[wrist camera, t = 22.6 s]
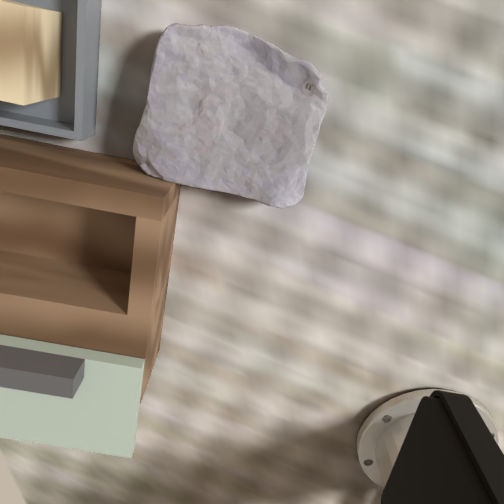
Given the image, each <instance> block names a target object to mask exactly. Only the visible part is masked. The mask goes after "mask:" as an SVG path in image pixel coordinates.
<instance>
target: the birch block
mask: <svg viewBox="0 0 504 504" xmlns="http://www.w3.org/2000/svg"><path fill="white" fill-rule="evenodd" d="M62 32H63V13H62V12H58V11H54V10H49V9H45V8H41V7H36V6H32V5H28V4H23V3H19V2H15V1H11V0H0V101H5V102H10V103H14V104H19V105H23V106H24V105H28V104H32V103H36V102H40V101H44V100H48V99H52V98H57V97H60V96H61V64H62Z"/></svg>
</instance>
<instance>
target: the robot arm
mask: <svg viewBox="0 0 504 504" xmlns="http://www.w3.org/2000/svg"><path fill="white" fill-rule="evenodd" d="M498 442H499V438H498V430H497V428H496V425H495V422H494V421H493V419H492V417H491V416H490V414H489V413H488V411H487V410H486V409H485V408H484V407H483V406H482V405H481V404H480V403H479V402H477V401H476V400H474V399H473V398H471V397H469V396H467V395H464V394H462V393H459V392H455V391H450V390H444V389H426V390H417V391H413V392H409V393H405V394H402V395H400V396H397V397H395V398H392V399H390V400H389V401H387V402H385V403H384V404H382V405H380V406H379V407H378V408H377V409H375V410H374V411H373V412H372V413H371V414H370V415H369V416H368V418H367V419H366V420H365V421H364V423H363V425H362V426H361V428H360V430H359V433H358V437H357V454H358V459H359V462H360V465H361V467H362V470H363V471H364V472H365V474H366V475H367V476H368V478H370V479H371V480H372V481H373V482H374V483H376V484H377V485H379V486H381V487H382V488H384V490H383V493H382V498H381V504H504V455H503V453H502V451H501V449H500V448H499V446H498Z"/></svg>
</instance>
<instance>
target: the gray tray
mask: <svg viewBox="0 0 504 504" xmlns="http://www.w3.org/2000/svg"><path fill="white" fill-rule="evenodd" d="M11 1H15V2H19V3H23V4H28V5H32V6H36V7H41V8H45V9H49V10H54V11H58V12H62V13H63V32H62V64H61V96H60V97H57V98H52V99H48V100H44V101H40V102H36V103H32V104H28V105H24V106H23V105H19V104H14V103H10V102H5V101H0V125H3V126H8V127H13V128H18V129H23V130H28V131H34V132H39V133H44V134H49V135H54V136H59V137H64V138H69V139H74V140H79V141H83V140H85V139H87V138H89V137H90V136H92V135H94V134H95V125H96V104H97V83H98V61H99V40H100V18H101V0H11Z"/></svg>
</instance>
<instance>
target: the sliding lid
mask: <svg viewBox="0 0 504 504" xmlns="http://www.w3.org/2000/svg"><path fill="white" fill-rule="evenodd" d="M144 364H145V359H141V358H135V357H130V356H124V355H118V354H112V353H106V352H100V351H95V350H89V349H83V348H77V347H71V346H65V345H60V344H54V343H48V342H42V341H36V340H30V339H25V338H19V337H13V336H7V335H1V334H0V437H1V438H7V439H14V440H20V441H26V442H33V443H39V444H45V445H52V446H58V447H64V448H71V449H77V450H83V451H89V452H96V453H102V454H108V455H115V456H121V457H127V458H131V457H132V454H133V451H134V448H135V441H136V432H137V424H138V415H139V407H140V398H141V390H142V381H143V373H144Z"/></svg>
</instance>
